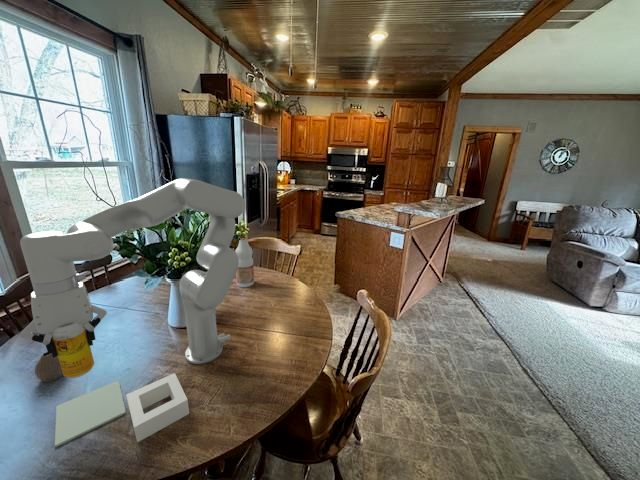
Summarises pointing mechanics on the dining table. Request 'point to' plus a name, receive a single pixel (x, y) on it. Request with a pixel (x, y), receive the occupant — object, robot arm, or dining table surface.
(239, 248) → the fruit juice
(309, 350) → the dining table surface
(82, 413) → the mat
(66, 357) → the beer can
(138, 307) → the dining table surface
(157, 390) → the sleeve
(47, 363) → the vase
